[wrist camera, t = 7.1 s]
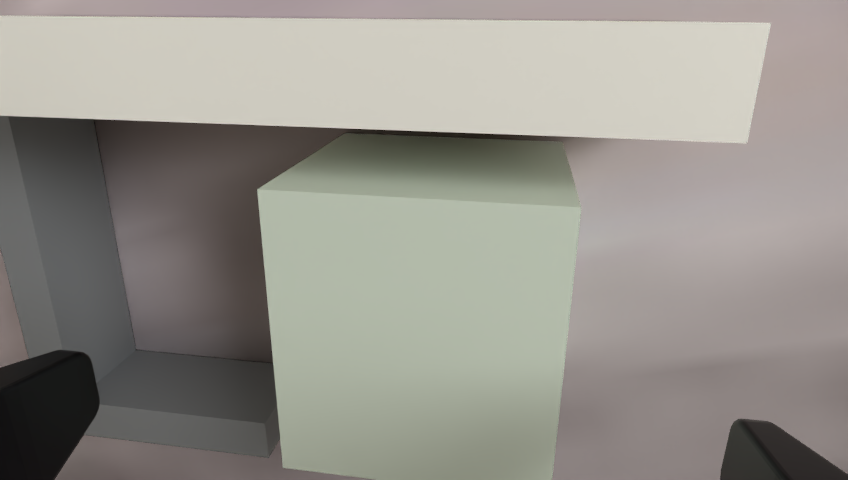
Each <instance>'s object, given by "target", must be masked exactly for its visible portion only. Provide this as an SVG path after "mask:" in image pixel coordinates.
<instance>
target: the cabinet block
mask: <svg viewBox="0 0 848 480" xmlns="http://www.w3.org/2000/svg"><path fill="white" fill-rule="evenodd" d="M257 193H258V204H259V215H260V226H261V237H262V247H263V258H264V269H265V280H266V291H267V301H268V312H269V323H270V334H271V345H272V355H273V366H274V377H275V388H276V399H277V409H278V420H279V431H280V442H281V453H282V464H283V468H288V469H296V470H304V471H312V472H320V473H328V474H336V475H344V476H351V477H359V478H367V479H375V480H552V476H553V466H554V457H555V448H556V438H557V429H558V420H559V411H560V401H561V392H562V383H563V374H564V364H565V355H566V346H567V336H568V327H569V318H570V309H571V299H572V290H573V281H574V272H575V262H576V253H577V244H578V235H579V225H580V216H581V204H580V201H579V197H578V194H577V190H576V187H575V183H574V180H573V177H572V173H571V170H570V166H569V163H568V159H567V156H566V152H565V149H564V145H563V142H552V141H527V140H502V139H478V138H453V137H428V136H404V135H379V134H354V133H344V134H343V135H341V136H340V137H338V138H337V139H335V140H333V141H332V142H330V143H329V144H327V145H326V146H324V147H323V148H321V149H319V150H318V151H316V152H315V153H313V154H312V155H310V156H309V157H307V158H305V159H304V160H302V161H301V162H299V163H298V164H296V165H294V166H293V167H291V168H290V169H288V170H287V171H285V172H284V173H282V174H280V175H279V176H277V177H276V178H274V179H273V180H271V181H269V182H268V183H266V184H265V185H263V186H262V187H260V188H259V189H257Z"/></svg>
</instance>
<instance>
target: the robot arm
mask: <svg viewBox="0 0 848 480" xmlns="http://www.w3.org/2000/svg"><path fill="white" fill-rule="evenodd" d="M99 405H100V397H99V392H98V388H97V383H96V378H95V374H94V369H93V365H92V361H91V359H90V357H89V356H88V355H87V354H86V353H84V352H80V351H70V350H55V351H52V352H49V353H46V354H42V355H39V356H36V357H33V358H30V359H27V360H23V361H20V362H17V363H14V364H11V365H8V366H5V367H1V368H0V480H54V479H55V478H56V476H57V475H58V473H59V472H60V470H61V469H62V467H63V466H64V464H65V463H66V461H67V460H68V458H69V456H70V455H71V453H72V452H73V450H74V449H75V447H76V446H77V444H78V443H79V441H80V440H81V438H82V437H83V435H84V434H85V432H86V431H87V429H88V427H89V426H90V424H91V423H92V421H93V420H94V418H95V417H96V415H97V412H98V410H99ZM720 480H848V474H846V473H845V472H844V471H842V470H841V469H839V468H838V467H836V466H835V465H833V464H832V463H830V462H829V461H828V460H826V459H825V458H823V457H822V456H820V455H819V454H817V453H816V452H814V451H813V450H811V449H810V448H809V447H807V446H806V445H804V444H803V443H801V442H800V441H798V440H797V439H795V438H794V437H793V436H791V435H790V434H788V433H787V432H785V431H784V430H782V429H781V428H779V427H778V426H776V425H775V424H773V423H771V422H768V421H759V420H749V419H738V420H736V421H734V423H733V425H732V426H731V429H730V433H729V437H728V442H727V446H726V451H725V455H724V459H723V464H722V468H721V476H720Z"/></svg>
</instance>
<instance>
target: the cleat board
mask: <svg viewBox="0 0 848 480" xmlns="http://www.w3.org/2000/svg"><path fill="white" fill-rule="evenodd" d="M770 26H771V23H741V22H673V21H560V20H447V19H334V18H221V17H108V16H0V248H1V252H2V256H3V260H4V263H5V267H6V271H7V275H8V279H9V283H10V287H11V291H12V294H13V298H14V302H15V306H16V310H17V314H18V318H19V322H20V325H21V329H22V333H23V337H24V341H25V345H26V349H27V353H28V356H29V359H30V358H33V357H36V356H39V355H42V354H46V353H49V352H52V351H55V350H70V351H80V352H84V353H86V354H87V355H88V356H89V357H90V359H91V361H92V365H93V369H94V374H95V378H96V383H97V388H98V392H99V397H100V405H99V410H98V412H97V415H96V417H95V418H94V420H93V421H92V423H91V424H90V426H89V427H88V429H87V431H86V432H85V434H84V435H89V436H97V437H105V438H113V439H121V440H129V441H137V442H145V443H154V444H162V445H170V446H178V447H186V448H194V449H202V450H210V451H218V452H226V453H234V454H242V455H250V456H258V457H266V458H269V456H270V455H271V453H272V451H273V449H274V448H275V446H276V444H277V443H278V441H279V439H280V431H279V420H278V409H277V399H276V388H275V377H274V366H273V364H272V363H262V362H251V361H241V360H231V359H221V358H211V357H201V356H191V355H181V354H171V353H161V352H151V351H141V350H136V347H135V342H134V337H133V331H132V326H131V320H130V315H129V310H128V304H127V299H126V293H125V288H124V282H123V277H122V272H121V266H120V261H119V255H118V250H117V245H116V239H115V234H114V228H113V223H112V217H111V212H110V207H109V201H108V196H107V190H106V185H105V180H104V174H103V169H102V163H101V158H100V152H99V147H98V142H97V136H96V131H95V125H94V120H93V119H104V120H131V121H159V122H186V123H213V124H240V125H267V126H294V127H321V128H348V129H375V130H402V131H429V132H456V133H483V134H510V135H537V136H564V137H591V138H618V139H645V140H672V141H699V142H726V143H747V141H748V136H749V131H750V126H751V121H752V116H753V111H754V106H755V101H756V96H757V91H758V86H759V81H760V76H761V71H762V66H763V61H764V56H765V51H766V46H767V41H768V36H769V31H770Z"/></svg>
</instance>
